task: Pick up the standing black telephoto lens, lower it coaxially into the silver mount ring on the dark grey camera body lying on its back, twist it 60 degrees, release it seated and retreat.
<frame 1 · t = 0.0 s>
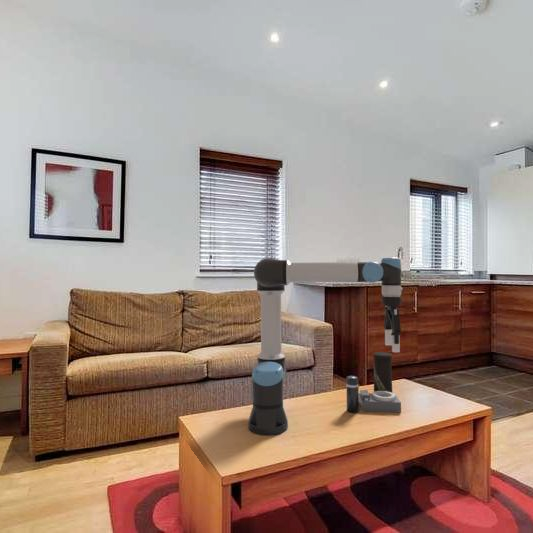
hand: (392, 348, 151), 28 cm above the table, fingers open, 13 cm apart
lens: (352, 410, 159), on the table
camera body: (379, 406, 164), on the table
container: (383, 395, 180), on the table
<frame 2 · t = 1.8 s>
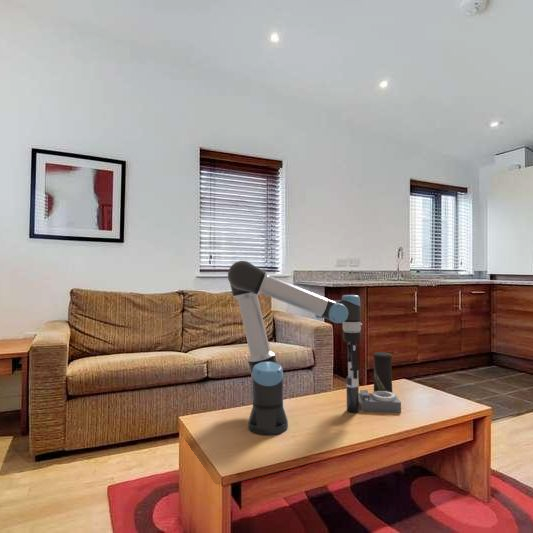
hand: (353, 381, 159), 12 cm above the table, fingers open, 13 cm apart
nothing on the table moved.
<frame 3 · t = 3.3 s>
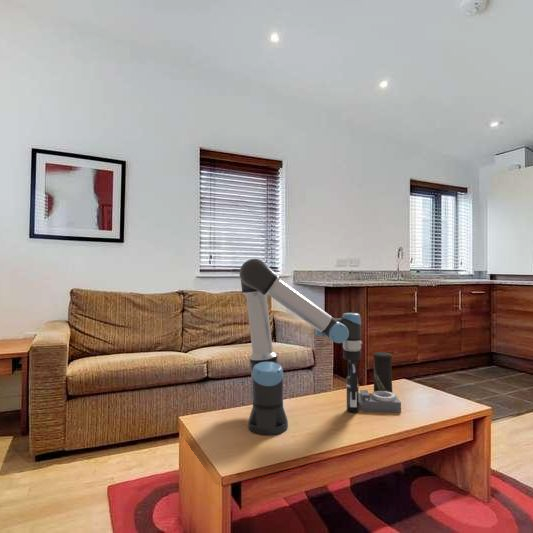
hand: (352, 404, 159), 3 cm above the table, fingers closed on lens, 5 cm apart
lens: (352, 410, 159), on the table, touching gripper
everything else where it was.
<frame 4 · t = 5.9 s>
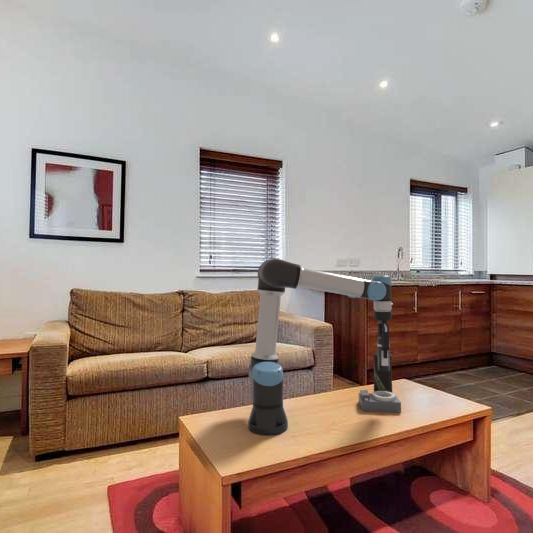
hand: (383, 363, 164), 19 cm above the table, fingers closed on lens, 5 cm apart
lens: (384, 370, 164), point 16 cm above the table, touching gripper
everything else where it was.
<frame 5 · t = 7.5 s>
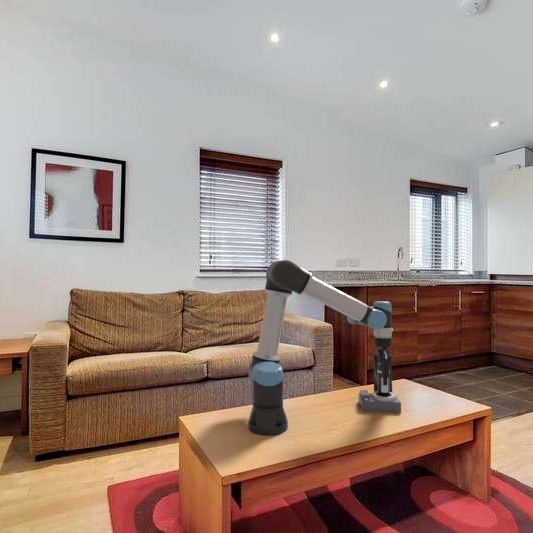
hand: (383, 390, 164), 7 cm above the table, fingers closed on lens, 5 cm apart
lens: (383, 396, 163), point 5 cm above the table, touching gripper
everything else where it was.
when the fingers open (7 cm above the table, at t = 8.9 s): lens stays where it is, resting on camera body.
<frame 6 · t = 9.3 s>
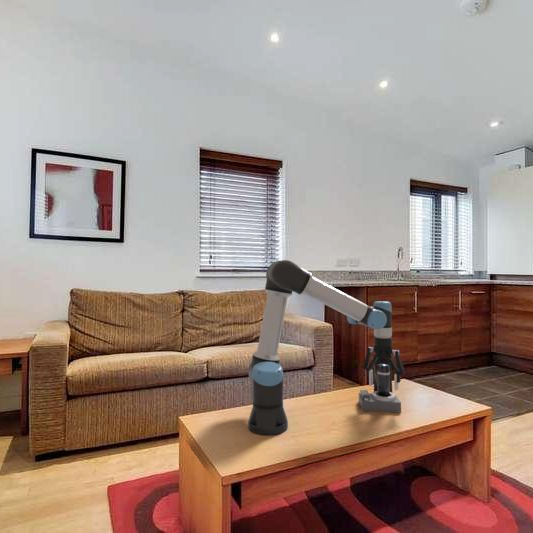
hand: (383, 387, 164), 8 cm above the table, fingers open, 10 cm apart
lens: (383, 397, 164), point 4 cm above the table, touching camera body
everything else where it was.
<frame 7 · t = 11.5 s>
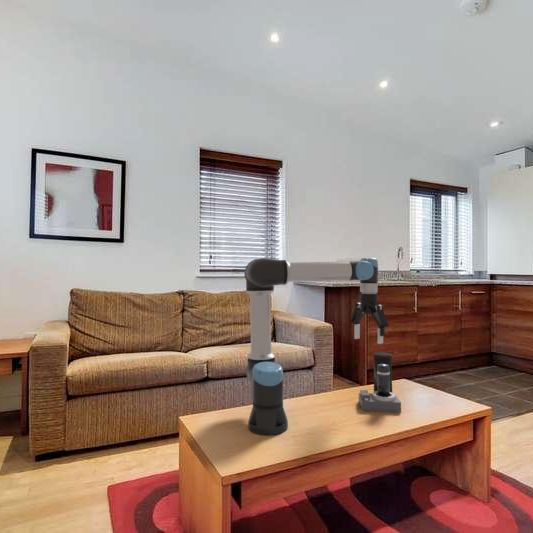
hand: (368, 341, 166), 28 cm above the table, fingers open, 13 cm apart
nothing on the table moved.
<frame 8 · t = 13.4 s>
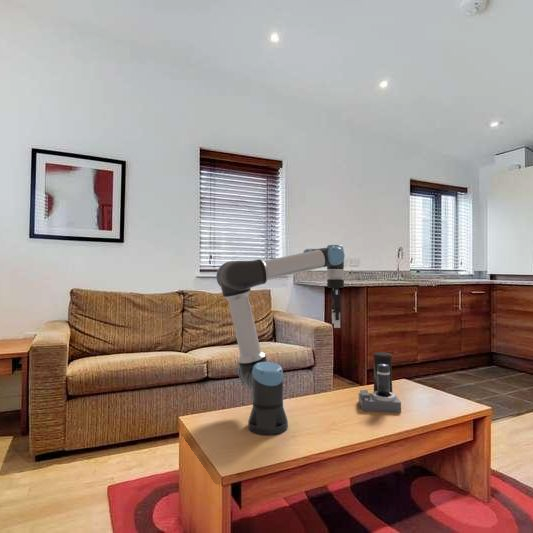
hand: (335, 325, 170), 35 cm above the table, fingers open, 13 cm apart
nothing on the table moved.
at the end: lens 0.0 cm from the target spot on the camera body, point 4.0 cm above the camera body's base; lens tilted 0°; the gripper is holding nothing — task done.
